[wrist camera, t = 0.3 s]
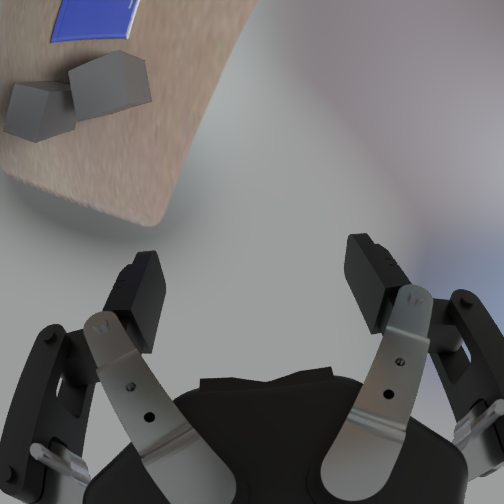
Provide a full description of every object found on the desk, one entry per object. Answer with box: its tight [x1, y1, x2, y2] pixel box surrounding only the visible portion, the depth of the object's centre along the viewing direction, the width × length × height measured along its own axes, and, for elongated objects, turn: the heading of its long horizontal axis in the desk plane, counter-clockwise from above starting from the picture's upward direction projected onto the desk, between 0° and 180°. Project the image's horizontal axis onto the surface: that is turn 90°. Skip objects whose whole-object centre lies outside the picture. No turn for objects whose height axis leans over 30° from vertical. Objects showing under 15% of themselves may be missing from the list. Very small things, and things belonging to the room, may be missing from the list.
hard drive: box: [51, 0, 140, 43], centre depth 24 cm, size 2×8×12 cm
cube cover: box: [3, 81, 77, 143], centre depth 26 cm, size 6×6×10 cm
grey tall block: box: [68, 50, 152, 122], centre depth 26 cm, size 6×6×10 cm
